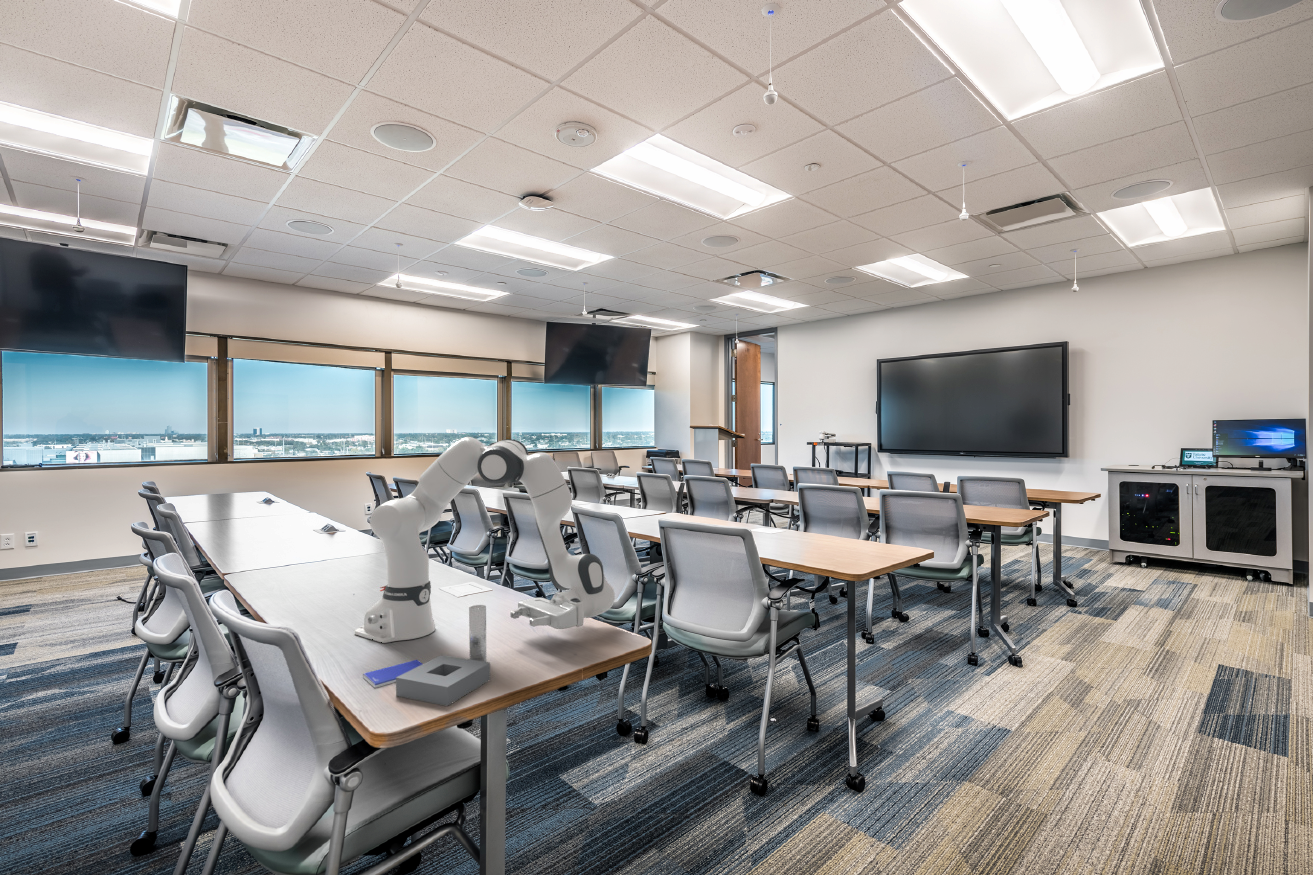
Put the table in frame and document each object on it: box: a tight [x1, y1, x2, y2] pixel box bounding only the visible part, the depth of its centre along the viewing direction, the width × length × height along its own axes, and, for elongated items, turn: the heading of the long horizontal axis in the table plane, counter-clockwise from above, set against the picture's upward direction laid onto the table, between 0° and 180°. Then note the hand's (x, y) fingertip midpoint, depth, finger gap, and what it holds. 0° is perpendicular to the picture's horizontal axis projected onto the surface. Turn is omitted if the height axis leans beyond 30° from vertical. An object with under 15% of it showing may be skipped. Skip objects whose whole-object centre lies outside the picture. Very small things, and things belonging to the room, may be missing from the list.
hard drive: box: [362, 659, 423, 689], centre depth 138 cm, size 2×8×12 cm
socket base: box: [395, 654, 491, 707], centre depth 130 cm, size 14×14×4 cm
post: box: [468, 604, 488, 662], centre depth 144 cm, size 4×4×14 cm
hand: (521, 619), depth 152 cm, fingers open, 8 cm apart
